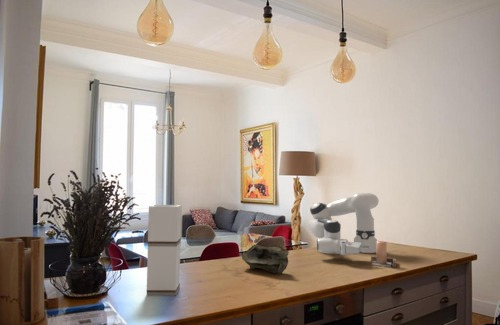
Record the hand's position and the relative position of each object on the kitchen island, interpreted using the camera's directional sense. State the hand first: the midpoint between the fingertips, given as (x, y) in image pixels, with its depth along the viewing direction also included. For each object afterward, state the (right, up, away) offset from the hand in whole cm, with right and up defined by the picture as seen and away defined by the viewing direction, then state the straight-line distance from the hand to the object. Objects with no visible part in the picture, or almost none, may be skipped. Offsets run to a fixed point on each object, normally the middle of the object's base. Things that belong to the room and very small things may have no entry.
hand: (368, 248), depth 212 cm
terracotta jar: (+6, -8, -2) cm, 10 cm away
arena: (+7, -8, -2) cm, 11 cm away
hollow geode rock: (-60, -7, -22) cm, 64 cm away
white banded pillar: (-103, -4, -59) cm, 119 cm away
